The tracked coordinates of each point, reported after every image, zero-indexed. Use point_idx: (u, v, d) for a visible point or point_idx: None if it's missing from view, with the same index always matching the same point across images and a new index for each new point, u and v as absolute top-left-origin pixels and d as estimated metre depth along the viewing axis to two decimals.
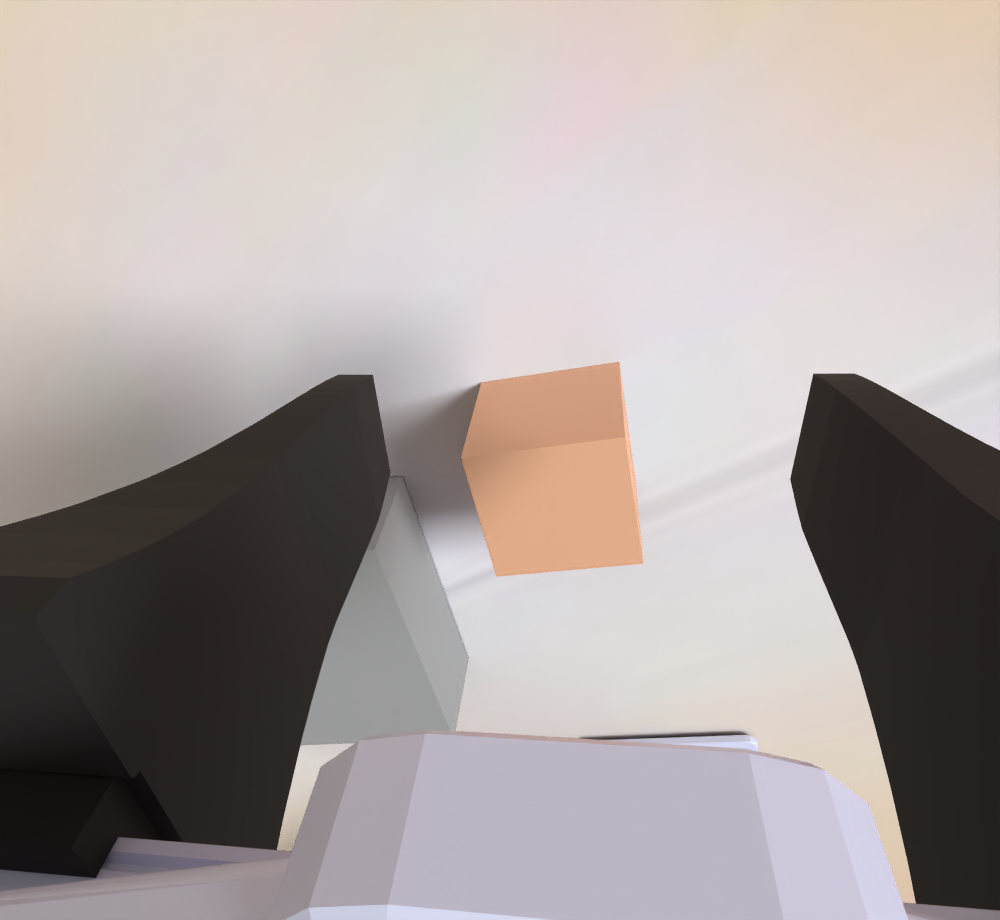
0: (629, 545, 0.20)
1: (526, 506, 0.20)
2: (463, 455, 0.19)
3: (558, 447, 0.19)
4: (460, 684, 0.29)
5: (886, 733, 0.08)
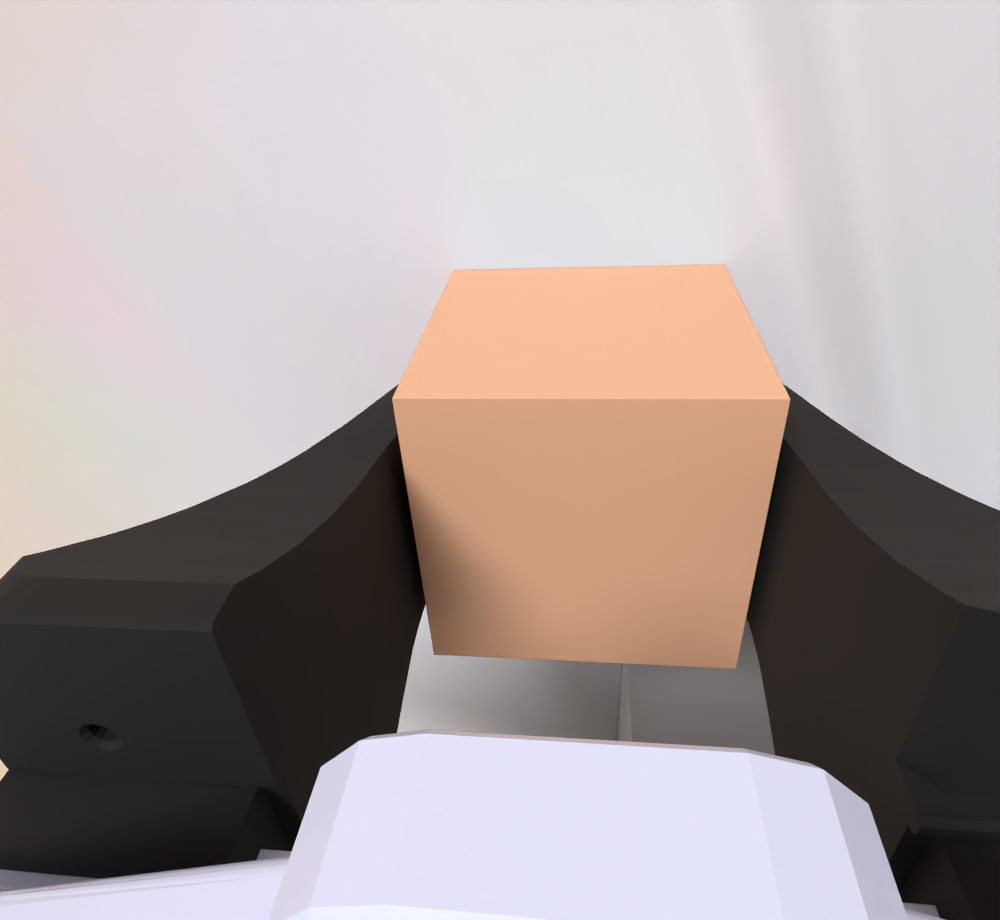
0: (716, 422, 0.08)
1: (558, 590, 0.10)
2: (434, 646, 0.11)
3: (416, 516, 0.09)
4: None
5: (776, 727, 0.09)
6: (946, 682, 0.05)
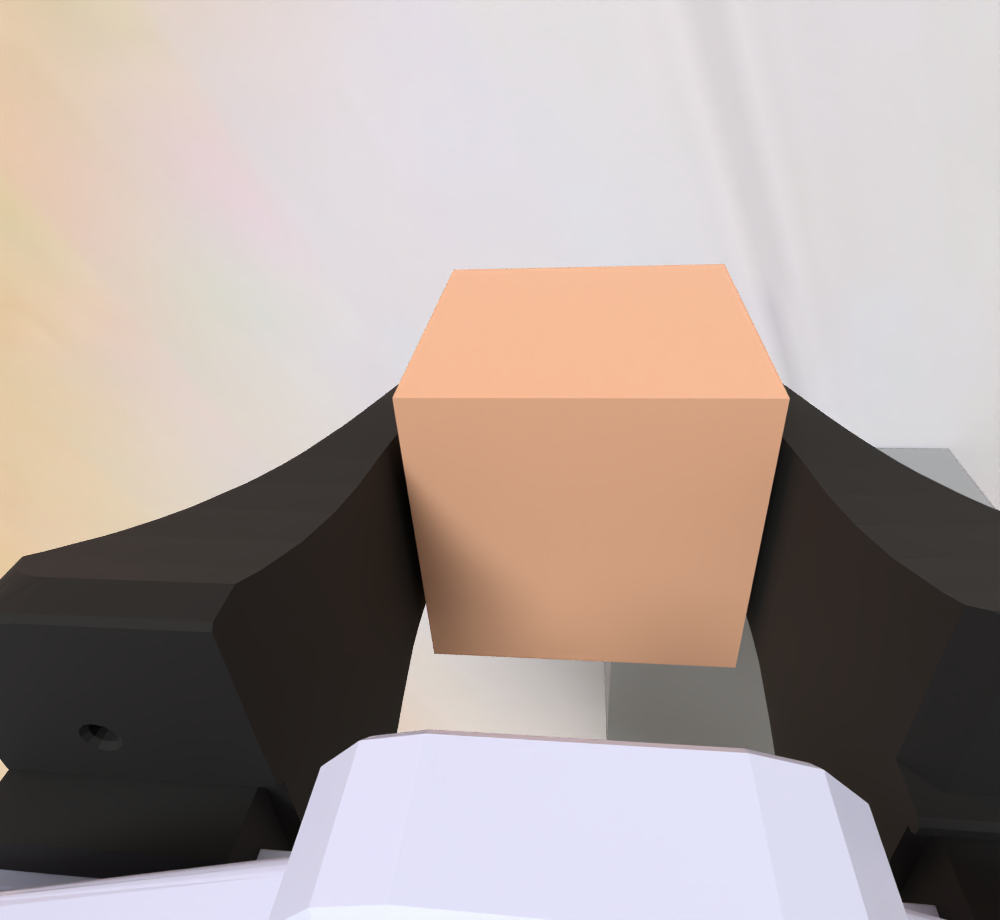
0: (716, 421, 0.08)
1: (558, 589, 0.10)
2: (435, 645, 0.11)
3: (416, 515, 0.09)
4: (959, 481, 0.19)
5: (776, 727, 0.09)
6: (944, 682, 0.05)
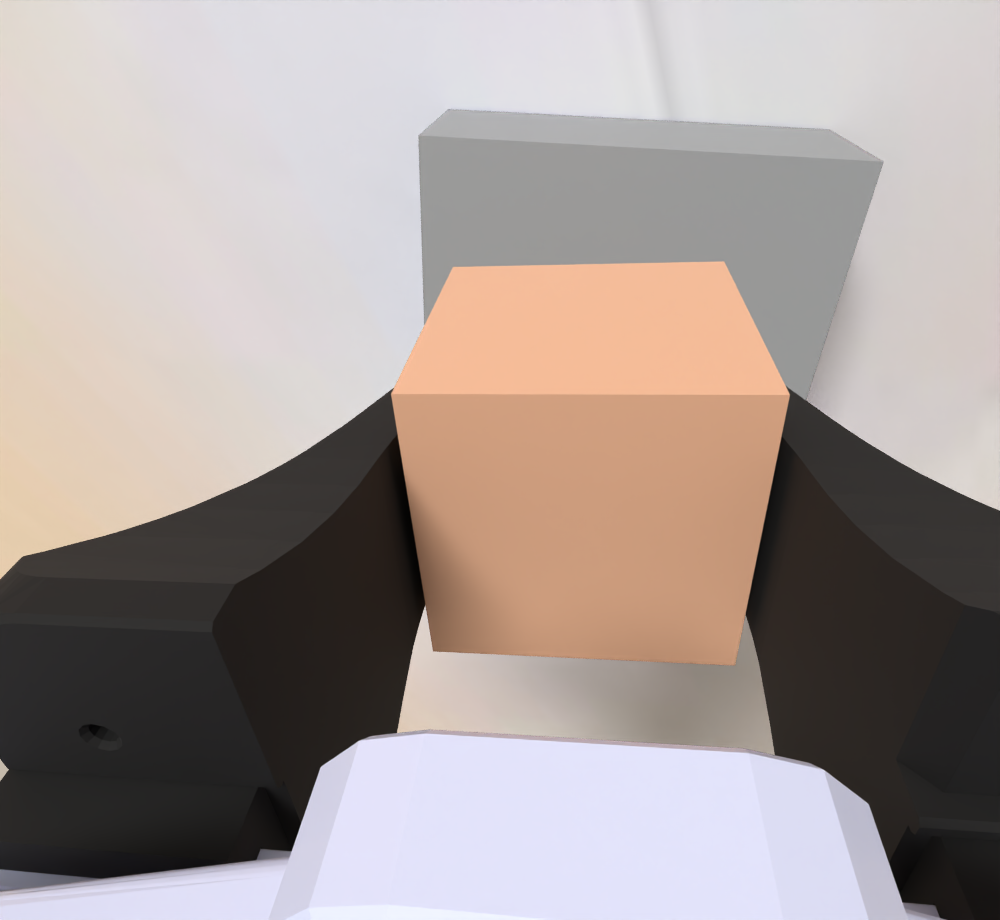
0: (716, 418, 0.08)
1: (557, 586, 0.10)
2: (434, 643, 0.11)
3: (414, 512, 0.09)
4: (833, 140, 0.17)
5: (776, 727, 0.09)
6: (944, 682, 0.05)
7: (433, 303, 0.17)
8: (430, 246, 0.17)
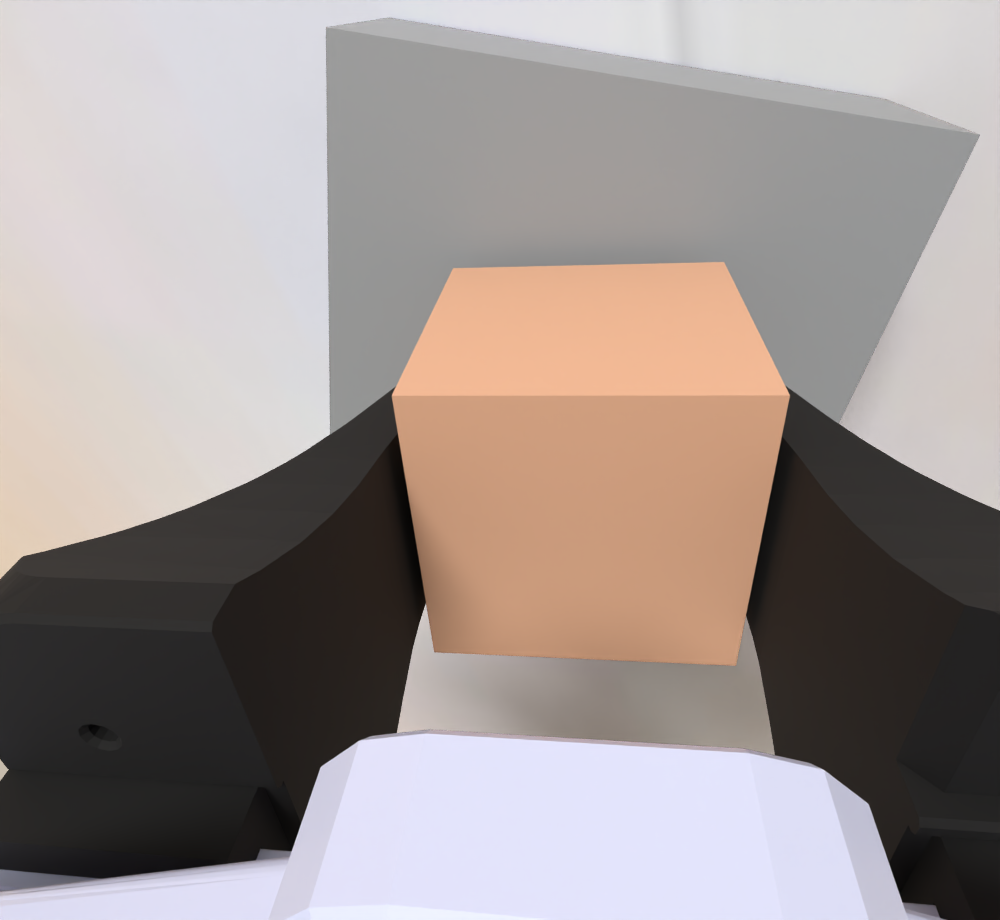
0: (716, 418, 0.08)
1: (558, 587, 0.10)
2: (435, 643, 0.11)
3: (415, 513, 0.09)
4: (898, 108, 0.12)
5: (776, 727, 0.09)
6: (945, 682, 0.05)
7: (341, 276, 0.13)
8: (339, 195, 0.12)
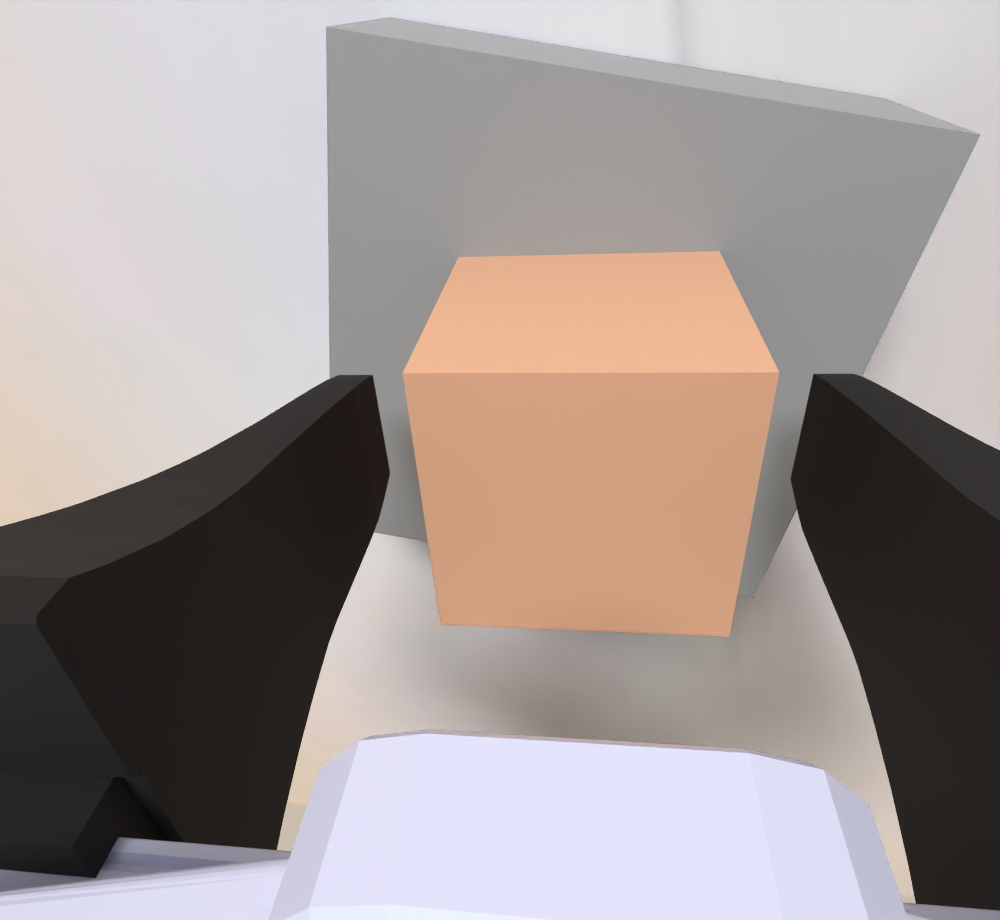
0: (709, 394, 0.08)
1: (559, 560, 0.10)
2: (441, 616, 0.11)
3: (424, 487, 0.10)
4: (898, 108, 0.12)
5: (886, 734, 0.08)
6: None
7: (342, 276, 0.13)
8: (339, 195, 0.12)
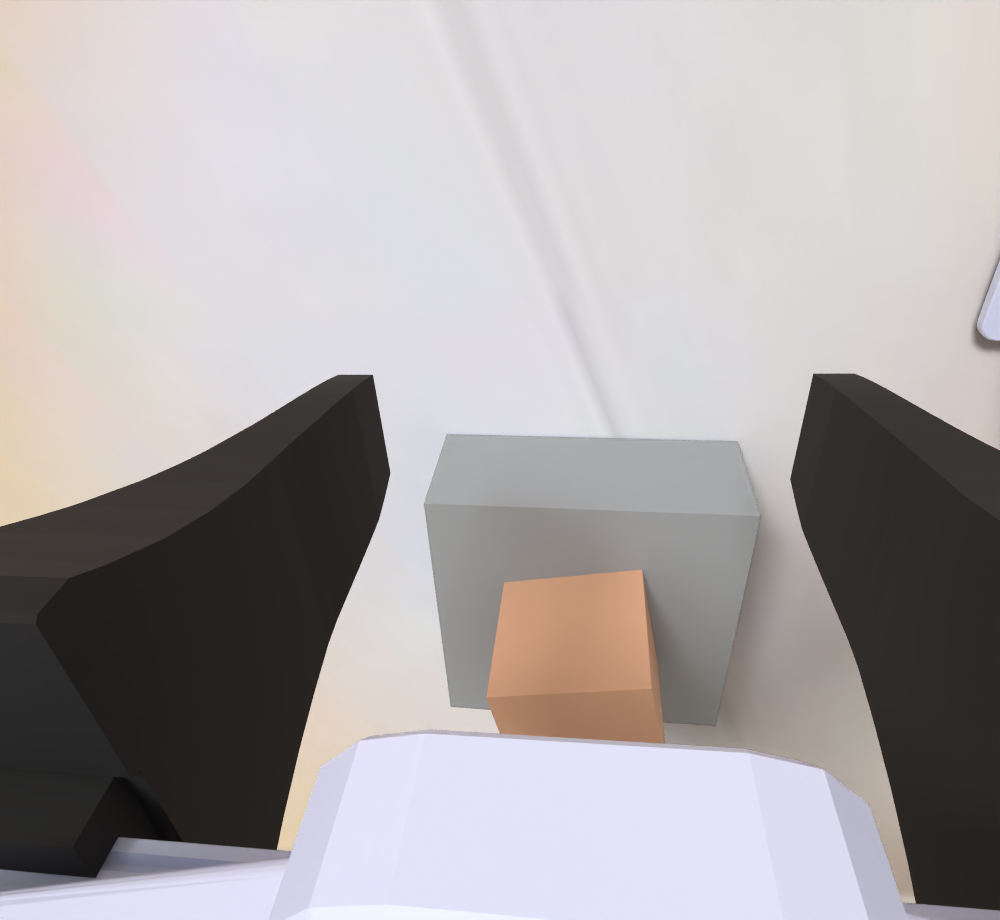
0: (624, 697, 0.18)
1: None
2: None
3: None
4: (734, 470, 0.22)
5: (885, 733, 0.08)
6: None
7: (443, 594, 0.23)
8: (438, 563, 0.23)
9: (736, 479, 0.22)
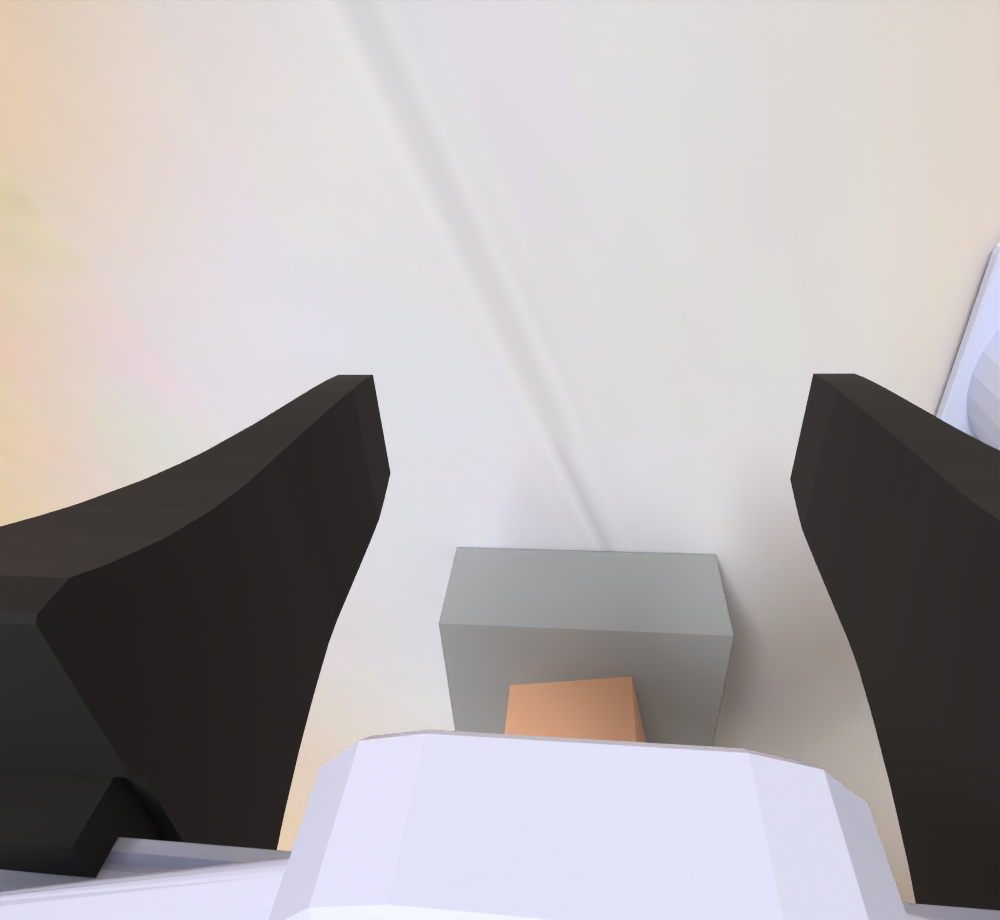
0: None
1: None
2: None
3: None
4: (711, 586, 0.25)
5: (885, 733, 0.08)
6: None
7: (456, 694, 0.26)
8: (451, 669, 0.26)
9: (713, 596, 0.25)
